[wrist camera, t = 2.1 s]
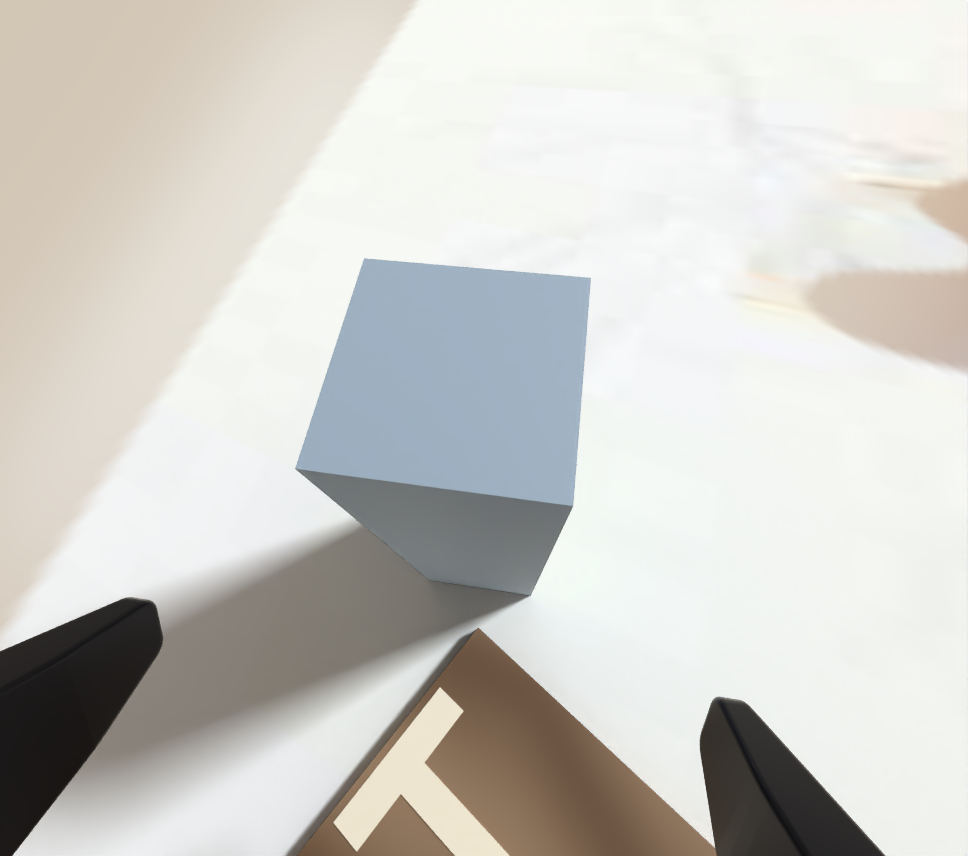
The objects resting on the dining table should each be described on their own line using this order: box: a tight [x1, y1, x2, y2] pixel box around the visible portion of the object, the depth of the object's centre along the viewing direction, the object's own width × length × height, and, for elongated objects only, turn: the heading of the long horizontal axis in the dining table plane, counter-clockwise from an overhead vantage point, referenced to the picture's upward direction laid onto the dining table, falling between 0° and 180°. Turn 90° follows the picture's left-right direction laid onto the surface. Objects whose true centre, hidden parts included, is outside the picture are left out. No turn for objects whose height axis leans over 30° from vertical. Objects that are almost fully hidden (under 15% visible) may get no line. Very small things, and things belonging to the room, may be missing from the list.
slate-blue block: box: [295, 259, 591, 596], centre depth 13 cm, size 4×4×13 cm
